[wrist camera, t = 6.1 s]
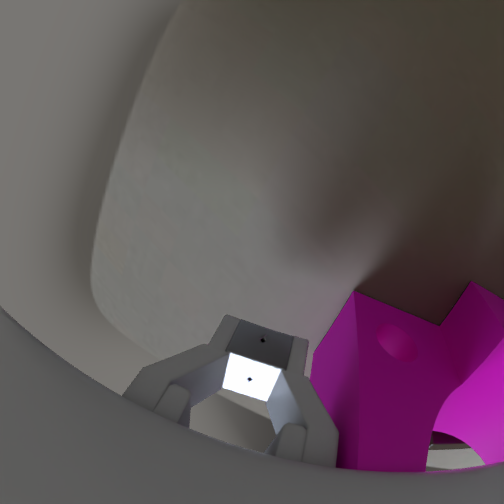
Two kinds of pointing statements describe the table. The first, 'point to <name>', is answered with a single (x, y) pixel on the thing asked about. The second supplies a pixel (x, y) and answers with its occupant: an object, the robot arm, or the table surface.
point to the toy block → (413, 381)
